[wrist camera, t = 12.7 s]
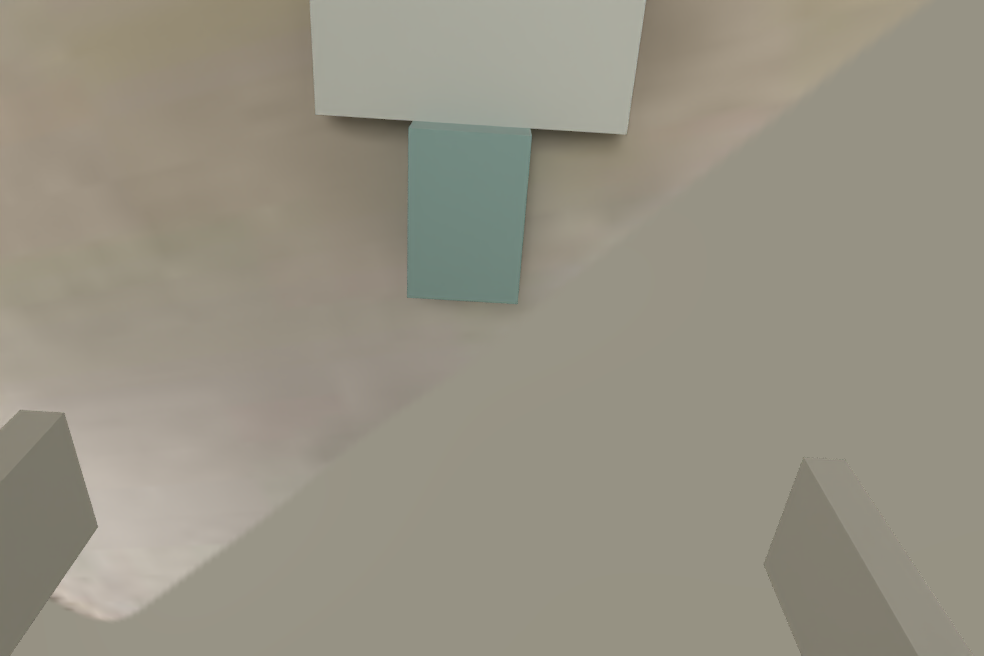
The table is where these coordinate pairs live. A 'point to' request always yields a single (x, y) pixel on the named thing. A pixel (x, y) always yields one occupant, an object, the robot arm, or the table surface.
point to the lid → (474, 112)
